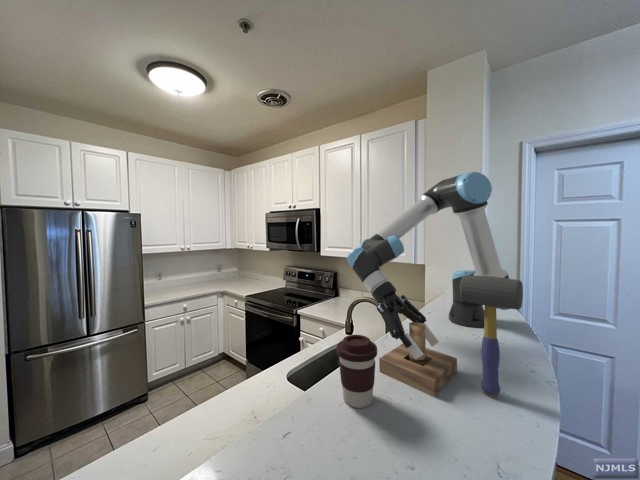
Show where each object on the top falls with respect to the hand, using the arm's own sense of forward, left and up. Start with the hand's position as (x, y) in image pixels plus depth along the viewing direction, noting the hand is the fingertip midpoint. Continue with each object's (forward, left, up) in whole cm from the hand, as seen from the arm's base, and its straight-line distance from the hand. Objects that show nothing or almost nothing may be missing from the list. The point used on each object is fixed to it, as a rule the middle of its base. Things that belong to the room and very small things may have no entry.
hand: (428, 350), depth 71 cm
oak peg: (0, -3, -7) cm, 8 cm away
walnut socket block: (0, -3, -7) cm, 8 cm away
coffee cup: (+22, -8, -8) cm, 25 cm away
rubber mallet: (-3, +14, -8) cm, 17 cm away
